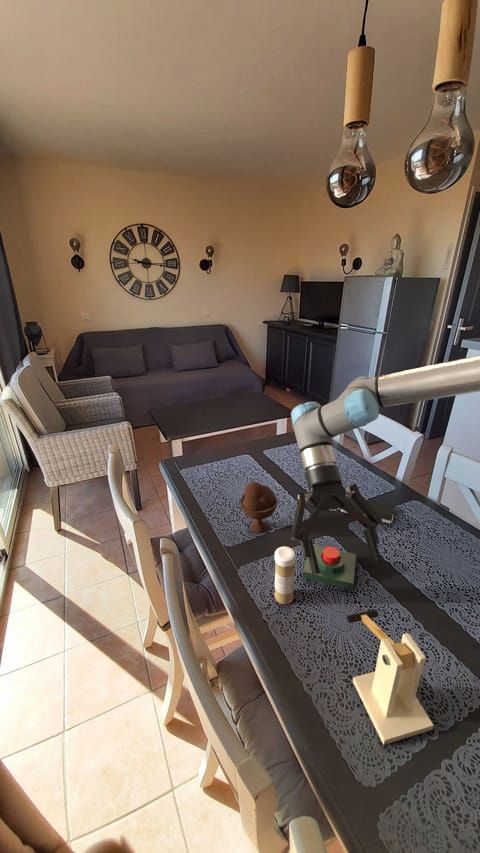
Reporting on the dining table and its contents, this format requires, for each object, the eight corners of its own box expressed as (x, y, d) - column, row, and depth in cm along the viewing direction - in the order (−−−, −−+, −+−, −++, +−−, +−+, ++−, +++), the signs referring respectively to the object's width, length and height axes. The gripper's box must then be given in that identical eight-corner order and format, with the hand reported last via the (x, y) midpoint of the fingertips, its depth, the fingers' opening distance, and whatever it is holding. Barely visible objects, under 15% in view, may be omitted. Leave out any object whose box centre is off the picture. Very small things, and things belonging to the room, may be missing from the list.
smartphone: (392, 521, 106) (340, 509, 112) (391, 524, 107) (340, 512, 113) (394, 506, 113) (345, 495, 119) (393, 509, 114) (344, 498, 119)
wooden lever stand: (352, 681, 67) (361, 626, 61) (395, 669, 69) (408, 615, 63) (383, 744, 58) (396, 687, 52) (432, 729, 60) (450, 672, 54)
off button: (339, 554, 91) (340, 548, 91) (338, 566, 88) (338, 559, 87) (323, 551, 93) (324, 545, 92) (321, 562, 89) (321, 555, 88)
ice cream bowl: (247, 543, 101) (246, 499, 95) (236, 519, 111) (235, 477, 105) (282, 535, 104) (283, 491, 98) (269, 512, 114) (269, 471, 108)
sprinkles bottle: (282, 586, 87) (283, 542, 82) (297, 596, 84) (299, 552, 79) (270, 597, 85) (270, 553, 79) (285, 609, 82) (286, 563, 76)
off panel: (355, 560, 94) (357, 549, 93) (352, 590, 86) (354, 578, 84) (309, 550, 98) (310, 539, 96) (302, 578, 90) (303, 565, 88)
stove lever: (347, 623, 70) (346, 611, 70) (375, 617, 71) (374, 605, 71) (390, 673, 56) (389, 658, 56) (424, 664, 57) (423, 649, 57)
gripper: (363, 465, 88) (391, 557, 80) (264, 480, 83) (284, 578, 75) (378, 456, 81) (410, 555, 73) (271, 472, 76) (294, 579, 69)
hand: (347, 567), depth 74 cm, fingers open, 13 cm apart
